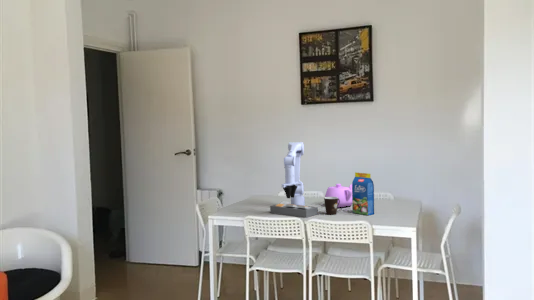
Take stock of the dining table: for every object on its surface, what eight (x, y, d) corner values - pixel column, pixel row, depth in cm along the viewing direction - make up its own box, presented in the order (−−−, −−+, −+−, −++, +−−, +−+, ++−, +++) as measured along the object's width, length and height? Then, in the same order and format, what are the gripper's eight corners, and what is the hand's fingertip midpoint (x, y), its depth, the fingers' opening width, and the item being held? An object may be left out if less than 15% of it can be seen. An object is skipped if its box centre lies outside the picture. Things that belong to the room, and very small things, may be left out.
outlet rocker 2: (294, 207, 301) (294, 205, 301) (301, 208, 298) (301, 206, 298) (285, 206, 294) (285, 203, 295) (292, 206, 291) (293, 204, 291)
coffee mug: (327, 215, 287) (327, 199, 286) (322, 213, 295) (321, 197, 295) (345, 214, 290) (345, 198, 290) (339, 211, 298) (339, 196, 298)
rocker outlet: (305, 208, 295) (305, 206, 296) (313, 209, 292) (313, 207, 292) (297, 207, 289) (297, 205, 289) (304, 208, 285) (305, 206, 285)
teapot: (342, 210, 303) (341, 186, 303) (320, 205, 321) (320, 183, 320) (367, 206, 316) (367, 183, 315) (345, 202, 333) (345, 180, 333)
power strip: (282, 209, 310) (281, 203, 310) (317, 214, 292) (317, 207, 292) (270, 212, 301) (270, 205, 300) (306, 217, 283) (306, 210, 282)
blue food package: (367, 215, 284) (367, 174, 283) (352, 213, 293) (351, 172, 292) (374, 214, 288) (373, 173, 286) (358, 211, 297) (358, 171, 296)
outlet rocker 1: (283, 202, 307) (282, 200, 307) (290, 203, 303) (289, 201, 303) (274, 208, 300) (274, 206, 300) (281, 208, 297) (281, 206, 297)
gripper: (287, 177, 284) (288, 200, 285) (302, 175, 296) (302, 196, 296) (278, 176, 289) (279, 199, 290) (293, 174, 300) (293, 195, 301)
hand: (290, 197), depth 293 cm, fingers open, 3 cm apart
